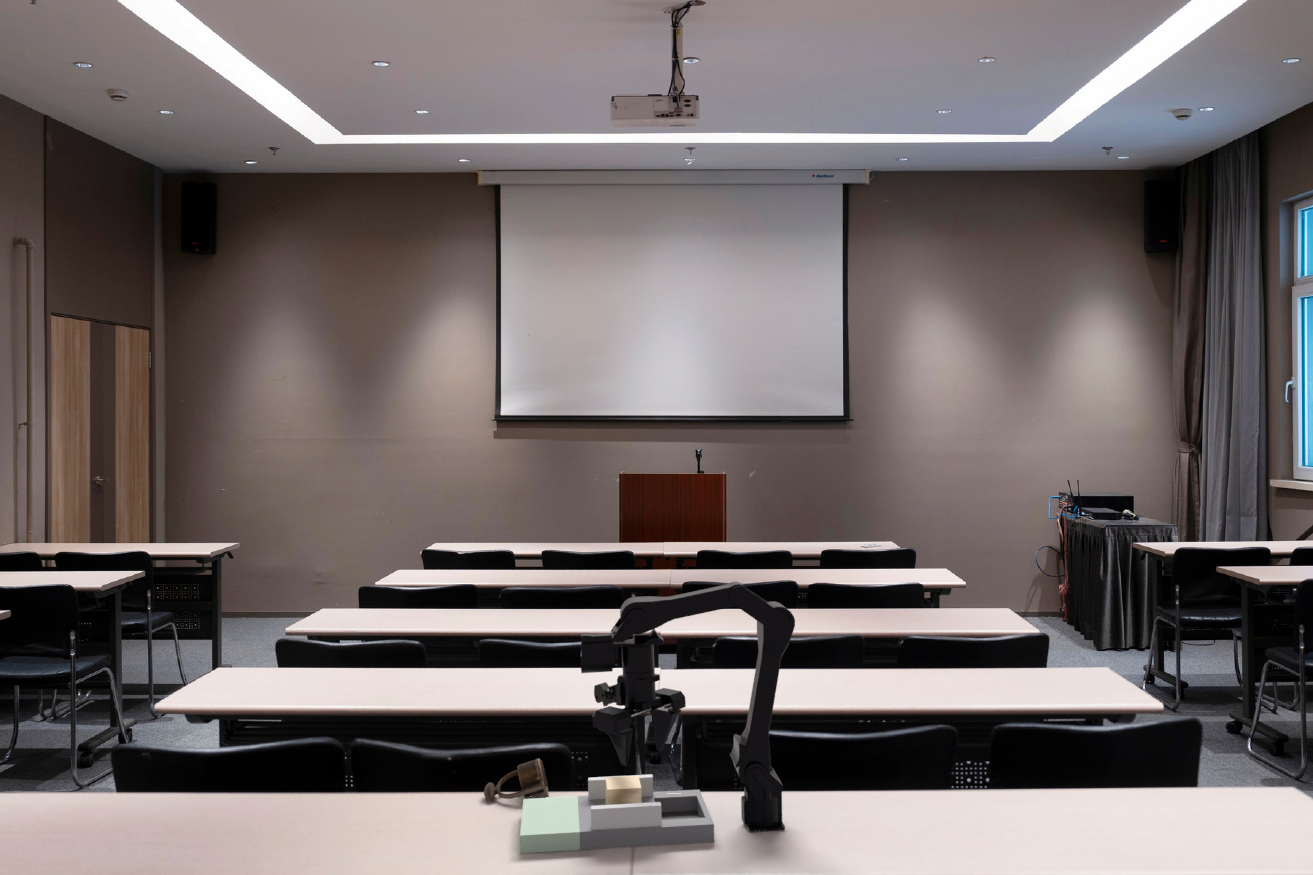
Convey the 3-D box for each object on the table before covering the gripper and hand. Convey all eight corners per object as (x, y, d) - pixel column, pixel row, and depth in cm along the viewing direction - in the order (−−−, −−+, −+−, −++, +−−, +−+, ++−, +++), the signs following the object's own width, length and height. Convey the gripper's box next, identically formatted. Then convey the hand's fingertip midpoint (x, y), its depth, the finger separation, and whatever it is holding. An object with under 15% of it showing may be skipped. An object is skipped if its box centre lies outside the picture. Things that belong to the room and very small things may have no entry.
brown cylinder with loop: (542, 781, 168) (558, 752, 178) (478, 771, 171) (498, 743, 180) (541, 815, 170) (558, 784, 179) (478, 804, 172) (498, 775, 182)
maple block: (638, 803, 163) (638, 775, 163) (641, 816, 157) (641, 787, 157) (605, 804, 162) (605, 777, 162) (607, 818, 156) (607, 789, 156)
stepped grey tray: (699, 805, 169) (699, 770, 169) (714, 841, 153) (713, 803, 153) (523, 815, 165) (523, 779, 165) (519, 853, 149) (519, 814, 150)
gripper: (641, 653, 172) (645, 735, 171) (569, 674, 158) (573, 763, 157) (685, 661, 164) (689, 746, 164) (613, 683, 150) (617, 776, 150)
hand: (642, 757), depth 159 cm, fingers open, 9 cm apart
